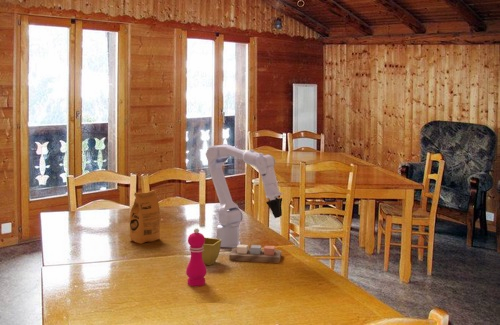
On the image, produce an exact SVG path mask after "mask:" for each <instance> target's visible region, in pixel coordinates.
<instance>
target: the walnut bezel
mask: <svg viewBox="0 0 500 325" xmlns="http://www.w3.org/2000/svg"><path fill="white" fill-rule="evenodd" d="M228 258H229V259H228V260H229V261H237V262H255V263H258V262H259V263H276V264H279V263H280V262H281V258H282V250H280V249H275V254H274V255H264V248H261V254H250V248H248V253H247V254H241V253H237V248H232V249H231V251H230V253H229V255H228Z"/></svg>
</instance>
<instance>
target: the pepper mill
mask: <svg viewBox="0 0 500 325" xmlns="http://www.w3.org/2000/svg"><path fill="white" fill-rule="evenodd" d="M205 238H206V237H205V236H204V234H203V233H201V232H200V230H199V229H198V228H194V230H193V232H191V233H190V234H189V235H188V238H187V243H188V245H189V250H188V251H189V252H190V259H189V262H188V263H187V266H186V271H185V274H186V276H187V277H188V278H187V285H188V286H190V287H202V286H204V285H206V278H205V276H206V275H207V272H208V271H207V267H206V264H204V262H203V259H202V251H203V250H204V249H203V248H204V247H203V244H204V243H205ZM201 285H202V286H201Z"/></svg>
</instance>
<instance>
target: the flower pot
mask: <svg viewBox="0 0 500 325" xmlns="http://www.w3.org/2000/svg"><path fill="white" fill-rule="evenodd" d="M220 246H221V239H217V238H212V237H205V243H204V244H203V247H204V248H203V249H204V250H203V251H202V259H203V262H204V264H205V266H206V265H207V266H211V265H213V264H214V263H216V260H217V259H218V257H219V255H220V250H221V247H220Z"/></svg>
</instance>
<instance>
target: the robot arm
mask: <svg viewBox="0 0 500 325" xmlns="http://www.w3.org/2000/svg"><path fill="white" fill-rule="evenodd" d="M205 156H206V160H207V168H208V171H209V174H210V178H211V180H212V183H213V186H214V189H215V192H216V195H217V199H218V201H219V204H220V207H219V208H218V210H217V213H218V222H219V223H220V224H218V225H217V227H216V228H217V229H216V239H221V246H220V248H230V249H231V248H232V249H233V248H237V246H238V244H241V241H240V225H241V222H242V221H243V217H244V215H243V212H242V211H241V209H240V208H239V205H238V203H235V202H234V201H233V199H232V195H231V193H230V189H229V186H228V183H227V180H226V177H225V174H224V170H223V166H224V164H225V163H226V162H227V161H228V159H229V158H230V157H234V158H237V159H241V160H243V162H244V163H245V165H246V164H247V165H250V166H252V167H255V168H256V169H257V170H258V172H259V174H260V177H261V181H262V184H263V188H264V192H265V199H269V200H268V201H266V202H265V203H266V205H267V206H268V207H269V209H270V210H271V213H272V215H273V217H274V219H277V218H280V217H282V216H283V211H282V209H283V208H282V204H283V197H280V198H279V196H281V195H283V194H284V192H280V187H279V185H278V180H277V176H276V171H275V168H274V167H275V165H276V159H275V157H274V156H273V155H271V154H265V155H264V153H262V152H257V151H255V149H249V150H248V149H247V150H246V151H245V150H242V149H240V148H237V147H235V146H232V145H231V144H226V143H224V144H220V145H219V144H218V145H209V146H208V148H207V150H206V152H205Z"/></svg>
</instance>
